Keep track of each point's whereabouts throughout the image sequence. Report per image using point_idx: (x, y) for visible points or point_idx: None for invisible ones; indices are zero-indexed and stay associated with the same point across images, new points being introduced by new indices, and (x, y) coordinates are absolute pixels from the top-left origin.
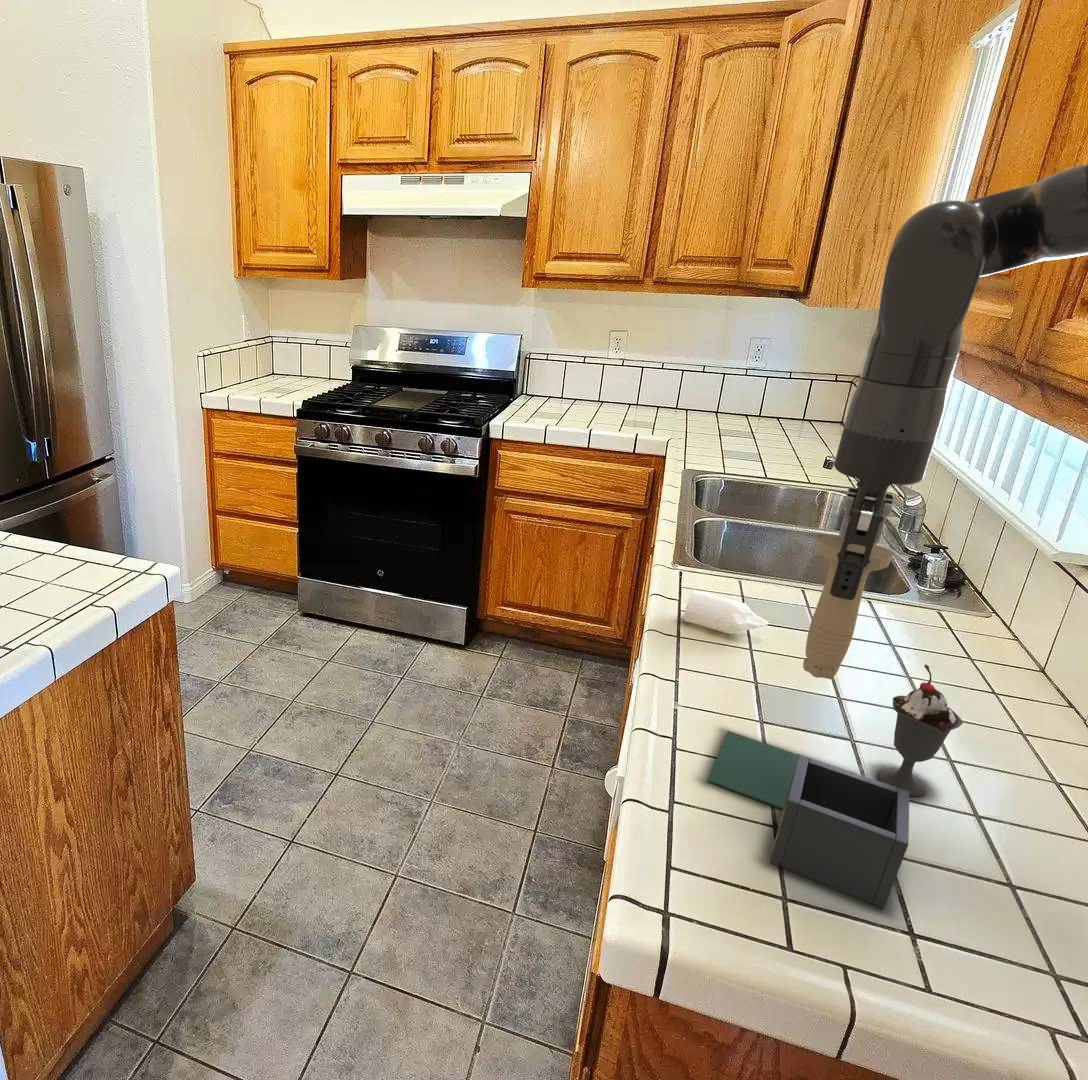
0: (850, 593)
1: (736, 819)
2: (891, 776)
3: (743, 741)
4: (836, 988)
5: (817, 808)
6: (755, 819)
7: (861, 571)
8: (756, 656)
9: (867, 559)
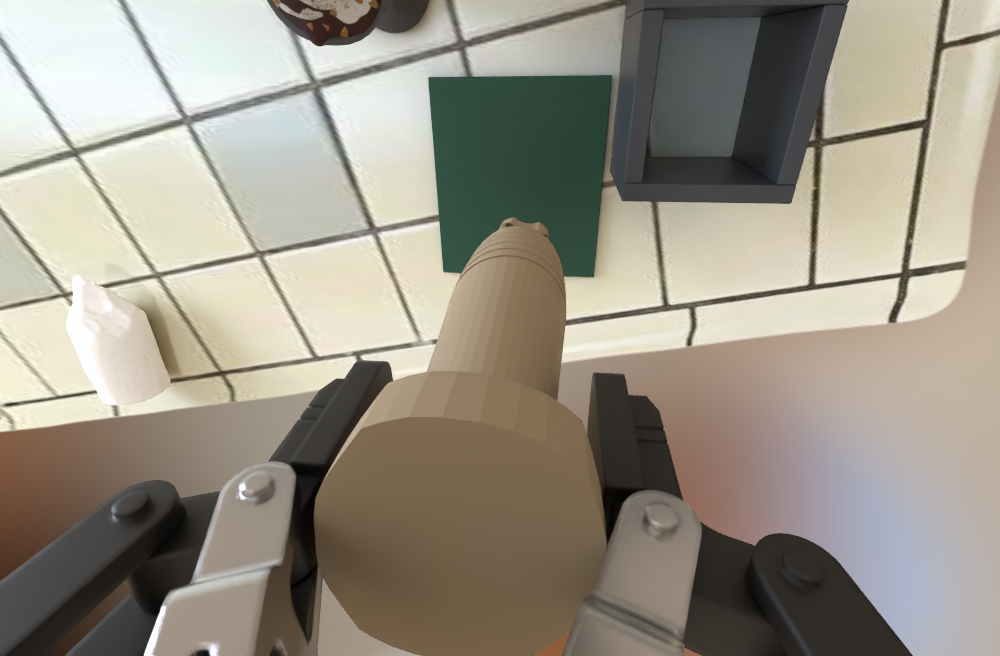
0: (654, 409)
1: (662, 227)
2: (398, 7)
3: (457, 248)
4: (990, 53)
5: (797, 154)
6: (647, 203)
7: (638, 471)
8: (171, 264)
9: (867, 608)
